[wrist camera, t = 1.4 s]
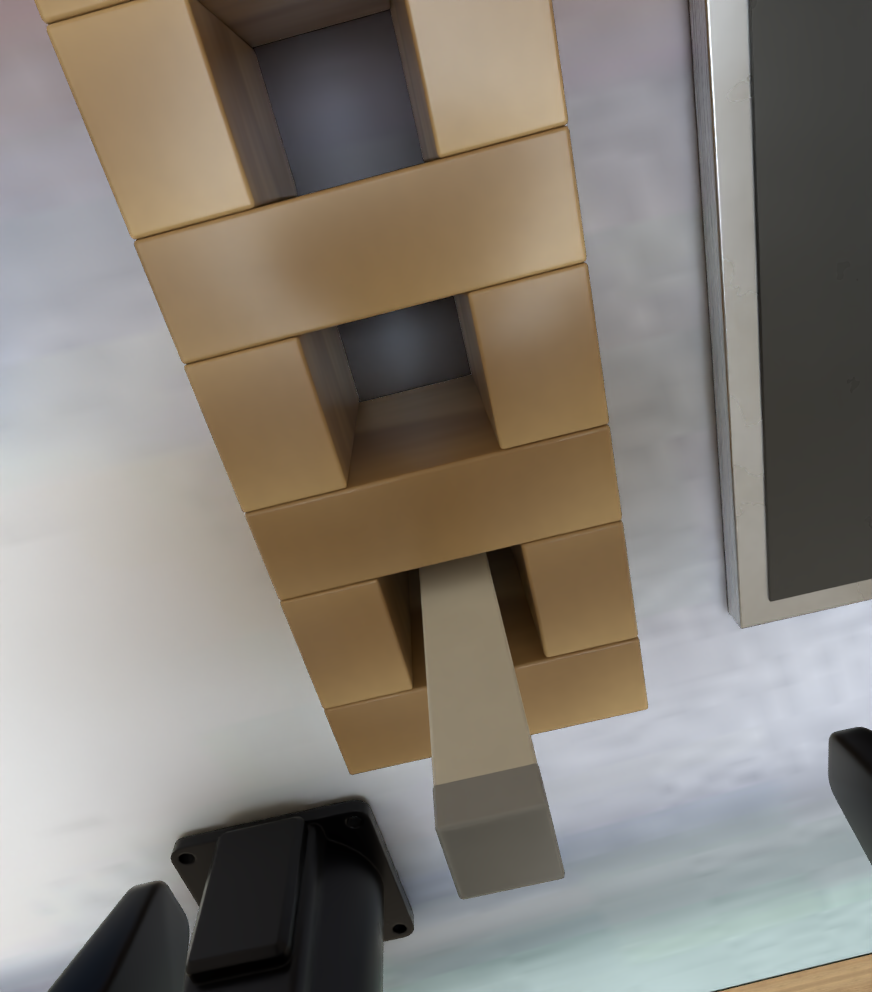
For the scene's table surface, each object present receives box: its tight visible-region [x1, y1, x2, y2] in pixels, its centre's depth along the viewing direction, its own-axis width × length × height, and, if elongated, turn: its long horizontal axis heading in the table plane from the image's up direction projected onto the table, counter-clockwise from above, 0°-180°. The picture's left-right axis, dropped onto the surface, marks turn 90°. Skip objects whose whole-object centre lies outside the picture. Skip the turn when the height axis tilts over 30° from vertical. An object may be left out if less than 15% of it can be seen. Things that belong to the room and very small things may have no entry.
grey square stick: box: [419, 552, 565, 899], centre depth 13 cm, size 1×1×10 cm
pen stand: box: [34, 0, 648, 775], centre depth 13 cm, size 16×6×5 cm, turn 14°
